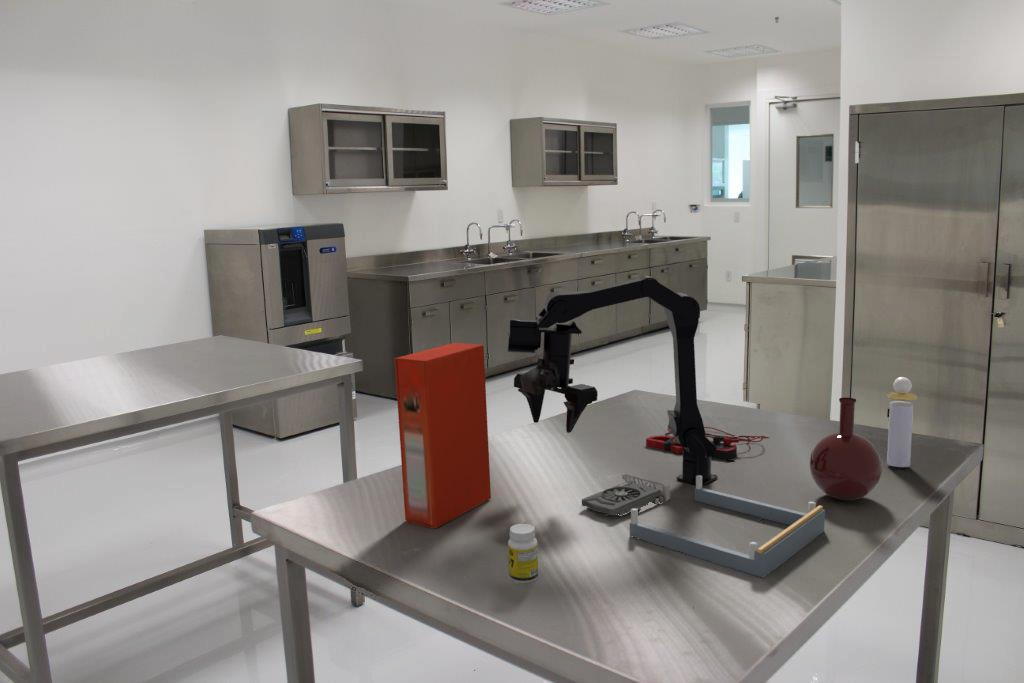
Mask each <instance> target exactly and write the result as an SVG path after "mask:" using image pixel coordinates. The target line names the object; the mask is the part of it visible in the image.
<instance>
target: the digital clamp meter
mask: <svg viewBox="0 0 1024 683" xmlns="http://www.w3.org/2000/svg"><path fill="white" fill-rule="evenodd" d="M704 429H711V430H715V431H718V432H721V433H723V434H726V435H715V434H712V433H707V432H705V434H706V437H707V438H711V439H712V440H710V441H711V442H712V443H713V444H714V445H715V446H716V451H715V454H714V456H713V457H711V459H717V460H723V461H730V460H734V459H735V458H737V455H738V451H737V450H738V447H737V445H736V443H740V442H747V443H745V444H746V445H749V444H750V442H751V443H760V442H761V441H763V440H764V439H771V437H769V436H765V435H737V436H738V437H735V436H736V435H735V434H732V433H729V432H726V431H724V430H722V429H718V428H716V427H710V426H704ZM666 431H668V432H666V433H664V435H661V434H660V435H653V436H652V435H651V436H649V437H647V438H645V446H646V448H649V447H650V449H657V450H662V451H664V452H673V453H675V454H683V450H684V449H685V448H684V447H683V446H682V445H681V444H680V443H679V442H678V441H677V439H676V438H675V437H674V436H673V435H672V432H671V431H670V430H669V429H668V428H667V430H666ZM670 434H671V435H670ZM728 435H729V436H728ZM749 437H757V438H749ZM760 437H761V438H760ZM758 439H759V440H758Z"/></svg>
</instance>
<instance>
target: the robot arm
mask: <svg viewBox="0 0 1024 683" xmlns="http://www.w3.org/2000/svg"><path fill="white" fill-rule="evenodd" d="M644 298H649V299H651V301H653V302H654V303H657V304H658V305H659V306H661V307H663V308H664V312H665V315H666V320H667V324H668V327H669V330H670V332H671V336H672V341H673V343H672V344H673V346H672V347H673V364H674V367H673V368H674V384H675V385H674V386H675V405H674V408H673V409H672V410H670V409H668V410H666V411H667V418H668V425H667V429H669V431H671V432H672V433H671V432H670V433H671V435H672V436H674V437H675V438H676V439H677V441H678V442H679V443H680V444H681V445H682V446H683V447H684V448H685V449H684V450H683V453H682V466H681V467H682V473H681V474H679V475H677V476H676V480H678V481H681V482H686V483H690V484H694V485H696V476H697V475H701V476H702V486H705V485H706V484H709V483H710V482H712V481H714V480H716V479H718V475H717V474H713V473H712V458H711V457H713V456H714V454H715V451H716V446H715V445H714V444H713V443H712V442H711V441H712V440H710V439H709V437H706V434H705V433H706V428H704V427H705V425H704V421H703V418H702V415H701V412H700V409H699V406H698V400H697V399H698V398H697V397H698V396H697V378H696V377H697V374H696V357H695V356H696V352H695V351H696V350H695V336H696V333H697V330H698V326H699V321H700V316H701V315H700V313H701V306H700V304H699V302H698V300H697V299H695V298H694V297H693V296H690V295H688V294H685V293H684V292H675V291H674V290H671V289H670V288H668V287H667V286H665V285H664V284H662V283H660V282H659V281H658V280H657V279H656V278H654V277H652V276H649V275H643V276H641V277H639V278H635V279H631V280H626V281H622V282H619V283H614V284H609V285H606V286H602V287H596V288H594V289H589V290H565V291H564V290H563V291H554V292H552V293H550V294H548V296H547V297H546V299H545V301H544V307H543V309H541V311H540V312H539V314H537V316H535V318H534V319H533V320H532V319H529V320H527V319H518V318H509V325H508V332H507V335H506V337H507V338H506V349H507V350H506V352H507V353H525V354H536V351H538V349H541V345H542V357H538V359H537V361H536V366H535V367H534V368H532V369H530V370H528V371H525V372H520V373H516V375H515V376H514V379H513V387H514V388H517V392H519V393H521V394H522V395H523V396H524V397H525V398H526V401H527V404H528V406H529V410H530V413H531V414H530V415H531V417H532V420H533V423H538V422H540V418H541V414H542V409H543V404H544V397H545V394H546V393H545V392H546V390H547V391H551V392H554V393H559V394H563V395H564V398H565V400H566V401H563V404H564V406H565V408H566V421H565V422H566V424H565V428H566V433H568V434H569V433H570V434H571V433H572V432H573V429H574V427H575V426H576V424H577V422H578V420H579V419H580V416H581V415H582V413H583V412H584V411H585V409H586V407H587V406H588V405H592V403H593V402H597V401H598V394H599V393H598V389H597V388H596V387H595V386H591V385H587V384H583V383H579V384H575V385H572V384H573V383H574V379H573V378H571V377H570V366H571V365H574V364H575V359H574V358H571V352H572V351H571V350H572V340H573V339H572V337H573V335H581V334H582V330H581V329H580V328H579V327H578V325H577V323H576V321H575V320H574V319H578V318H579V317H581V316H583V315H585V314H586V313H588V312H590V311H593V310H596V309H601V308H606V307H610V306H614V305H617V304H622V303H626V302H631V301H636V300H639V299H644ZM570 321H571V322H570ZM567 322H570V323H567ZM566 323H567V324H566ZM552 326H554V327H552ZM542 333H543V344H541V343H542Z"/></svg>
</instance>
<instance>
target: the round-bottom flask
mask: <svg viewBox="0 0 1024 683" xmlns="http://www.w3.org/2000/svg"><path fill="white" fill-rule="evenodd" d="M838 401H839V405H840V406H839V426H838V428H839V429H838V430H839V431H837V432H833V433H830V434H828V435H826V436H823V438H821V439H820V440H819V441H818V442H817V443H816V444H815V445H814V447H813V448H812V450H811V452H810V456H809V459H808V460H809V462H808V467H809V473H810V476H811V479H812V480H813V482H814V483H815V485H816V487H817V488H818V489H819V490H820V491H822V493H824V494H825V495H826V496H829V497H831V498H834V499H836V500H841V501H855V500H858V499H862V498H864V497H866V496H867V495H869V494H871V492H873V490H875V488H876V487H877V486H878V484H879V482H880V480H881V477H882V474H883V473H882V471H883V465H882V459H881V456H880V453H879V451H878V450H877V448H876V447H875V446H874V444H873V443H872V442H871V441H869V440H868V439H867V438H865V437H864V436H862V435H859V434H858V433H855V432H854V431H855V409H856V403H857V399H856V398H854V397H840V398H839V399H838Z"/></svg>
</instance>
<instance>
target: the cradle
mask: <svg viewBox="0 0 1024 683" xmlns="http://www.w3.org/2000/svg"><path fill="white" fill-rule="evenodd" d="M694 501H696V502H699V503H702V504H707V505H710V506H714V507H718V508H721V509H727V510H731V511H734V512H737V513H742V514H746V515H749V516H753V517H758V518H761V519H765V520H770V521H773V522H776V523H780V524H785V525H788V527H787V528H785V529H783V530H782V531H781V532H779V533H778V534H776V536H774V537H772V538H771V539H770V540H768V541H767V542H765V543H764V544H762V545H761V546H760V547H758V542H755V541H749V549H748V550H749V553H748V554H746V553H744V552H739V551H736V550H733V549H730V548H727V547H723V546H719V545H716V544H713V543H709V542H706V541H702V540H699V539H696V538H692V537H689V536H685V535H682V534H678V533H675V532H673V531H668V530H665V529H661V528H659V527H658V528H657V527H655V526H651V525H648V524H644V523H641V522H639V521H638V519H639V514H638V511H639V509H635V508H633V509H631V513H630V522H629V537H630V536H633V537H636V538H635V539H637V538H639V539H638V540H640V539H642V540H641V541H643V540H645V541H644V542H646V541H648V542H647V543H650V542H651V543H650V544H653V545H656V544H657V546H659V545H661V546H660V547H662V546H664V547H663V548H666V549H669V548H670V549H669V550H672V549H673V550H672V551H675V550H676V552H678V551H680V552H679V553H682V552H683V553H682V554H685V553H686V554H685V555H688V554H689V556H691V555H692V557H694V556H695V557H694V558H698V559H701V560H704V561H707V560H708V561H707V562H710V561H711V563H714V564H717V565H721V566H722V567H726V566H727V567H726V568H730V569H733V570H737V571H740V572H743V573H746V574H749V575H752V576H755V577H759V578H762V579H764V578H766V576H768V575H769V574H771V573H772V572H773V571H775V570H776V569H777V568H779V567H780V566H781V565H782V564H784V563H785V562H787V560H789V559H790V558H791V557H793V556H794V555H795V554H797V553H798V552H799V551H801V550H802V549H803V548H805V547H806V546H807V545H809V543H811V542H812V541H813V540H814V539H816V538H817V537H818V536H820V535H822V533H824V532H825V524H826V523H825V518H826V516H825V515H826V510H825V509H824V508H823V505H820V504H819V505H818V506H816V504H817V503H816V502H815V501H808V509H807V510H808V511H807V512H803V511H797V510H793V509H791V508H786V507H781V506H777V505H773V504H770V503H766V502H761V501H758V500H754V499H749V498H746V497H741V496H737V495H733V494H728V493H724V492H721V491H716V490H713V489H710V488H704V487H703V485H702V476H701V475H697V476H696V484H695V487H694ZM633 537H632V538H633Z"/></svg>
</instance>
